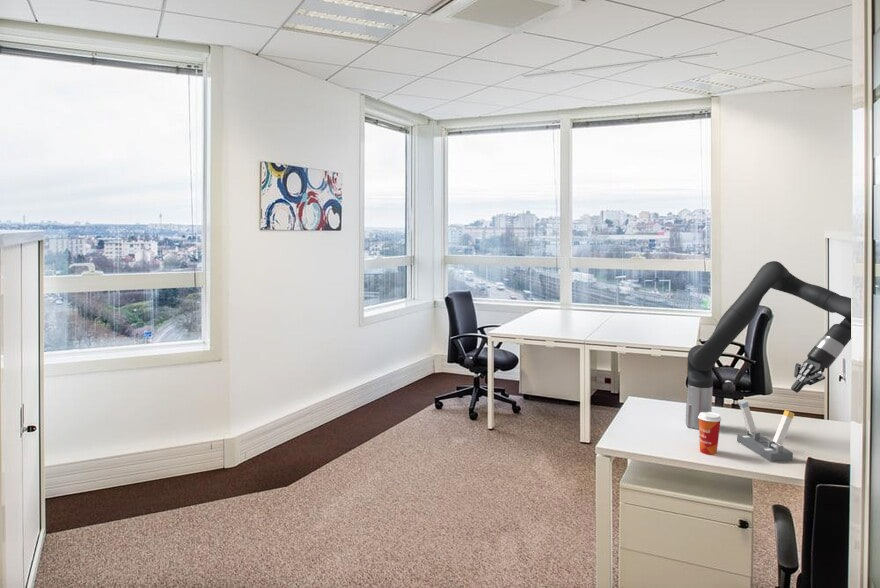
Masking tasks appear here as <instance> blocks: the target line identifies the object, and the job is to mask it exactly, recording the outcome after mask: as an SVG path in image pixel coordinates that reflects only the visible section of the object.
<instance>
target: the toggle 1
mask: <svg viewBox="0 0 880 588" xmlns="http://www.w3.org/2000/svg"><path fill="white" fill-rule="evenodd" d="M738 404H739V407H740V411H741V414H742V416H743V420H744V423H745V427H746V429H747V430H748V431H749V434H751V435H753V436H754V433H755V431H756V432H757V428H756V424H755V421H754V419H753V415H752V412H751V409H750V406H749V402H748V401H747V400H745V399H744V400H741V401H738Z"/></svg>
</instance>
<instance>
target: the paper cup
mask: <svg viewBox="0 0 880 588" xmlns="http://www.w3.org/2000/svg"><path fill="white" fill-rule="evenodd" d="M698 418H699V429H698V431H699V433H698V434H699V437H698V438H699V452H700V453H701V454H705V455H708V456H709V455H710V456H711V455H717V453H718V445H719V438H720V436H719V435H720V428H721V421H722V417H721V415H720V414H719V413H716V412H714V411H712V412H704V413H703V412H701V413H700V414H699V416H698Z"/></svg>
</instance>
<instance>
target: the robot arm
mask: <svg viewBox="0 0 880 588" xmlns="http://www.w3.org/2000/svg"><path fill="white" fill-rule="evenodd" d="M760 267H761V268H759V270H758V271H757V273H756V274H755V276H754V277H753V278H752V280H751V281H750V283H749V284H748V285H747V287H746V288H745V289H744V291H743V292H742V293H741V294H740V295H739V297H738V298H737V299H736V300H735V301H734V302H733V303H732V304H731V306H729V308H728V309H727V310H726V311H724V314H723V315H722V316H721V317H720V319H719V321H718V322H717V325H716V326H715V327H714V331H713V332H712V334H711V335H710V337H709V338H708V339H707V340H706V341H705V342H704V343H703V344H701V345H699V344H697V345H694V346H692V347H690V349H689V350H688V354H687V363H686V364H687V372H686V373H687V396H686V397H687V400H686V404H685V405H686V406H685V425H686V427H687V428H690V429H695V430H699V418H698V416H699V414H700V413H701V412H703V413H704V412H713V411H712V410H713V409H712V407H713V388H714V386H713V384H714V380H713V375H712V371H713V369H712V368H714V366H715V364H716V363H717V362H718V361H719V359H720V357H721V356H722V354H723V353H724V351H726V349H727V348H728V347H729V346H730V345H731V344H732V343H733V341H735V339H737V337H738V336H739V335H740V334H741V333H742V332H743V331H744V330H745V329H746V328H747V327H748V325H749V324H750V323H751V322H752V321H753V319H754V318H755V316H756V315H757V311H758V310H759V307H760V304H761V302H762V299H763V297H765V295H766V294H767V293H768V292H769V290H770V289H772V290H776V291H779V292H783V293H786V294H789V295H792V296H795V297H796V298H797V297H798V298H799V299H802V300H803V301H805V302H808V303H809V304H811V305H813V306H815V307H818V308H819V309H822V310H823V311H825V312H828V313H831V314H834V313H835V314H837V315H841V316H842V317H844V319H843V320H842V321H840V322H839V323H834V324H833V325H832V326H831V327H830V328H829V329H827V331H826V333H825V334H824V335H823V336H822V337H821V338H819V340H818V341H817V342H816V343H815V345H814V346H813V348H811V350H810V351H809V352H808V354H807V355H806V356H807V359H805V360H804V361H803V362H802V363H798V362H796V363H795V366H794V373H793V377H794V378H795V379H796V380H795V381H794V383H793V384H792V385H791V387H790V389H791V390H792V391H793V392H795V394H797V393H799V392H800V391H801V390H802V389H803V388H804V387H805V386H807V385H809V386H812V385H814V384H817V383H818V382H821V381H823V380H825V379H826V376H825V375H824V372H825V369H829V368H830V367H831V366H832V364H833V363H834V362H835V361H836V360H837V358H838V357H839V356H840V355H841V353H842V352H843V350H844V348H845V347H847V345H848V343H849V342H851V340H852V338H851V298H852V297H847V296H844V295H841V294H839V293H837V292H835V291H832V290H831V289H828V288H825V287H824V286H821V285H816V284H812V283H810V282H806V281H803V280H801V279H800V278H798V277H797V276H795V275H794V274H792V273H791V272H790V271H789V270H788V268H786V267H785V265H784V264H782V263H781V262H780V261H777V260H776V261H775V260H773V261H769V262H766V263H764V265H762V266H760Z"/></svg>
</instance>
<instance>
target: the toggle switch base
mask: <svg viewBox="0 0 880 588" xmlns="http://www.w3.org/2000/svg"><path fill="white" fill-rule="evenodd" d="M737 441H738V444H740V443H741V444H740V445H742V446H744V447H745V446H746V447H745V448H747V449H749V450H750V451H751V452H754V453H755V454H757V455H758V456H760V457H762V458H763V459H764V460H766V461H768V462H770V463H775V462H777V463H778V462H793V459H794V458H793V456H794V452H793V451H791V450H788V449H787V448H785V447H784V445H783V444H782V445H781V444H778V443H776V442H774V441H773V440H772V439H769V438H768V437H766V436H764V435H761V433H760V432H754V436H753V435H751V434H749V431H748V430H747V428H746V433H745V432H744V433H737V434H736V442H737ZM772 443H773V444H775V445H777V449H775V448H774V447H772V446H771V444H772Z"/></svg>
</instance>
